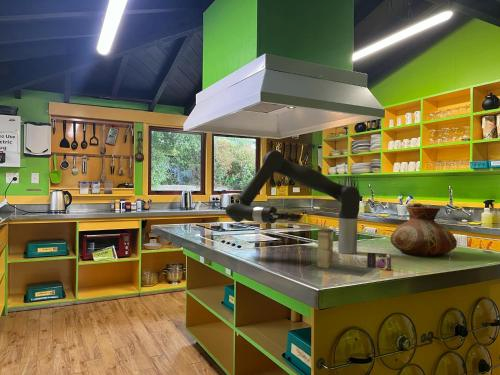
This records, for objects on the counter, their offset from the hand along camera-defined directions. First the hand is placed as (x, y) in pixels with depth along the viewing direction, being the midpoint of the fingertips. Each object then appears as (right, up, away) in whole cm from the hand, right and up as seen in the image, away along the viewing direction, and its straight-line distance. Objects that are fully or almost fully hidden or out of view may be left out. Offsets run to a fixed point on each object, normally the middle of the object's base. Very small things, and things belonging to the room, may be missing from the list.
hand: (299, 216), depth 160 cm
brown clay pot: (+65, -21, +29) cm, 75 cm away
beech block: (+10, -20, -7) cm, 23 cm away
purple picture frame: (+31, -21, -7) cm, 38 cm away
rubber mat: (+14, -20, -10) cm, 27 cm away
